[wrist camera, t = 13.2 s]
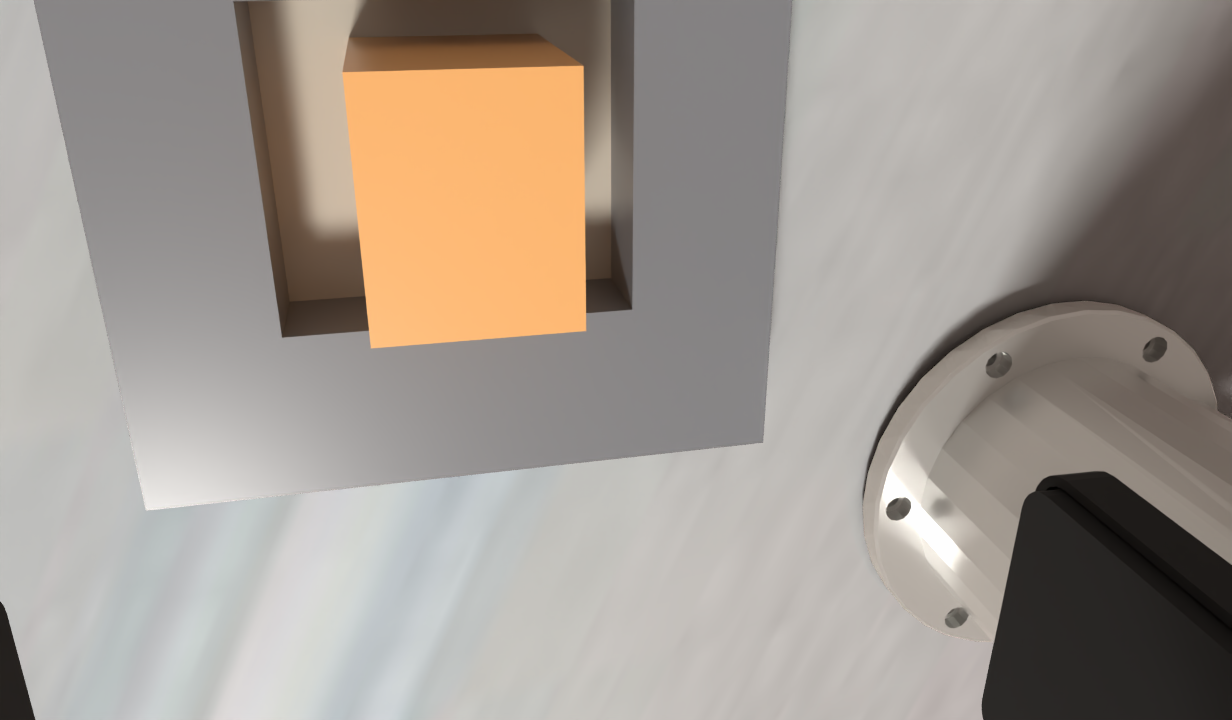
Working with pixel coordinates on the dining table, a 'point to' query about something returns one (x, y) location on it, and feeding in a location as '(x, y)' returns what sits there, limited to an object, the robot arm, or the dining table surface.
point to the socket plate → (331, 255)
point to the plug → (467, 186)
